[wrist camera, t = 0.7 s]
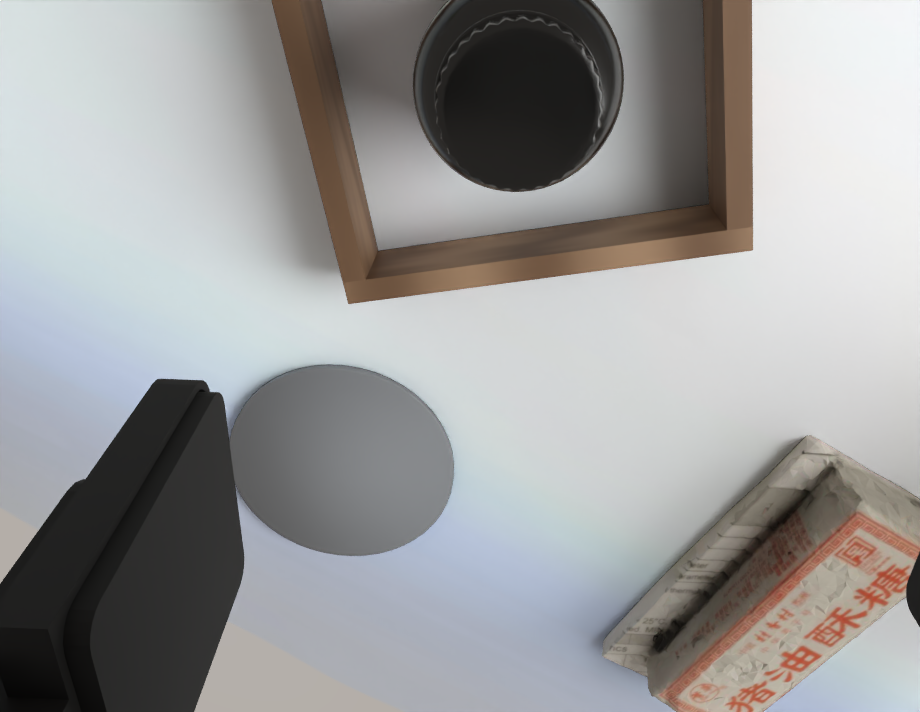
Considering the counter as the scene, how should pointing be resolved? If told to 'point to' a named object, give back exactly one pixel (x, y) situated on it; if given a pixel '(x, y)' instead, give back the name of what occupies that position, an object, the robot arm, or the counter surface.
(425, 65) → the supplement bottle
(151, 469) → the robot arm
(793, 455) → the packaged product
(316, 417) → the mat
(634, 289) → the counter surface
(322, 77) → the bin
